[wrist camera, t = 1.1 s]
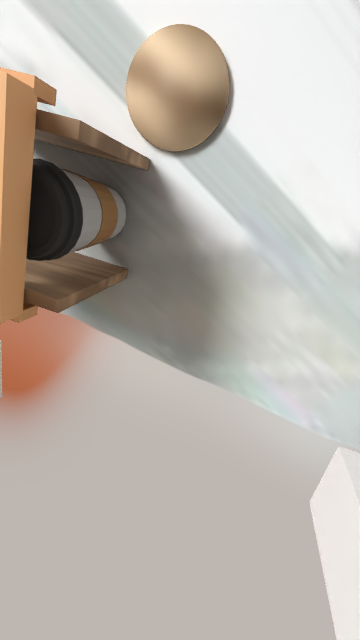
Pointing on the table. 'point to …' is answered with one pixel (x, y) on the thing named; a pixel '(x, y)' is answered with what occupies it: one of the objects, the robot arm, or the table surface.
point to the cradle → (74, 269)
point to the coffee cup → (69, 212)
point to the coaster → (177, 87)
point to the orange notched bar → (17, 184)
